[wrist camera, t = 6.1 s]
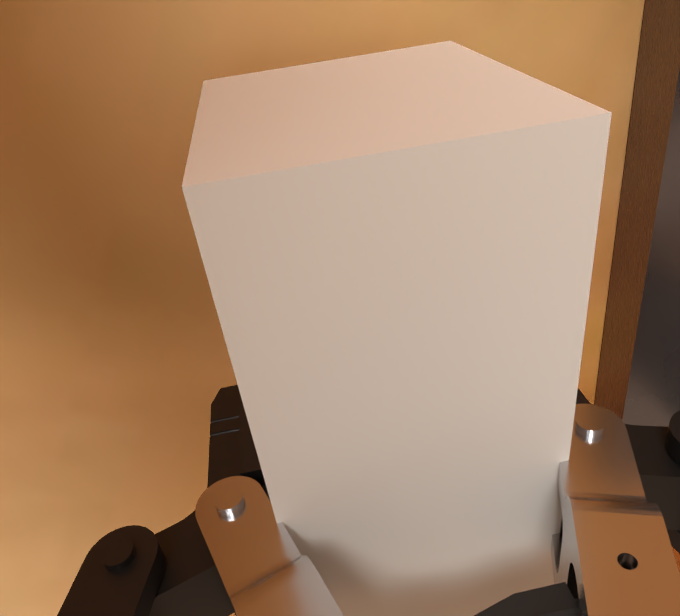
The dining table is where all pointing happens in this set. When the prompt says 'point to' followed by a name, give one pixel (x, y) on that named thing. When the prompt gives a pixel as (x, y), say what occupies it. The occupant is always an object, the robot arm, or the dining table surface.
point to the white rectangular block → (404, 310)
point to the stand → (647, 239)
